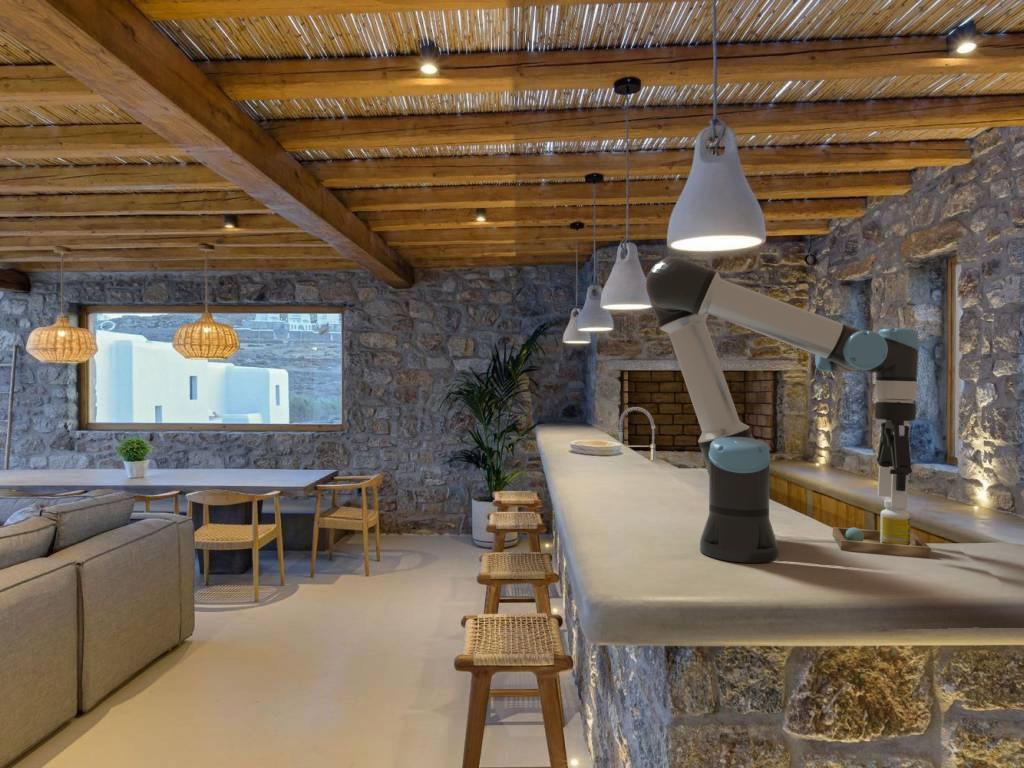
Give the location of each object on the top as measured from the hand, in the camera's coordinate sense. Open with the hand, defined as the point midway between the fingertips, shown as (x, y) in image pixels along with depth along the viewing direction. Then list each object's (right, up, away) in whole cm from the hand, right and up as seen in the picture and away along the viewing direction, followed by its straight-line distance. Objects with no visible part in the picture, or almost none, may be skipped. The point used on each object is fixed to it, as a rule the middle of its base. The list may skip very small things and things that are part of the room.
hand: (891, 501), depth 135 cm
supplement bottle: (+1, -10, 0) cm, 10 cm away
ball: (-7, -10, +2) cm, 12 cm away
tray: (-2, -10, +1) cm, 11 cm away
